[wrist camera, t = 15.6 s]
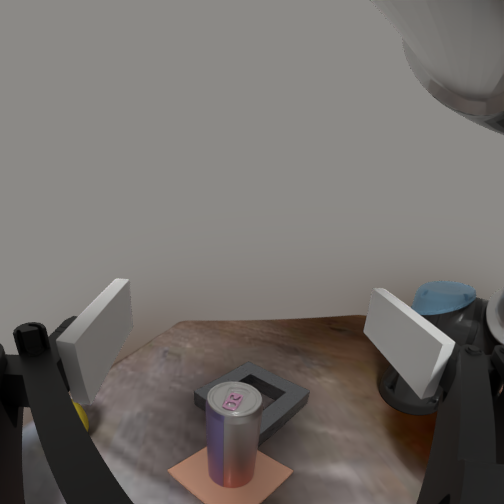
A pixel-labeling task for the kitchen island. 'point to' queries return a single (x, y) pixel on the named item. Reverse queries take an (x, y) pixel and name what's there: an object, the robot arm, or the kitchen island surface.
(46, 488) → the kitchen island surface
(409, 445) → the kitchen island surface
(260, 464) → the terracotta tile
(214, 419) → the beverage can
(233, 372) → the socket block
